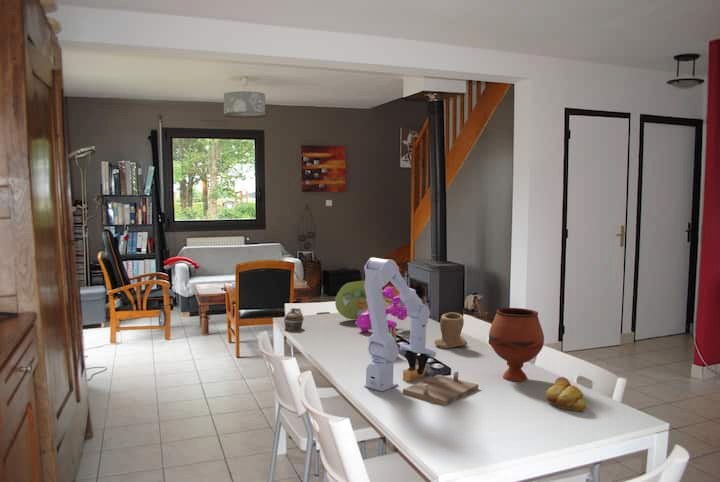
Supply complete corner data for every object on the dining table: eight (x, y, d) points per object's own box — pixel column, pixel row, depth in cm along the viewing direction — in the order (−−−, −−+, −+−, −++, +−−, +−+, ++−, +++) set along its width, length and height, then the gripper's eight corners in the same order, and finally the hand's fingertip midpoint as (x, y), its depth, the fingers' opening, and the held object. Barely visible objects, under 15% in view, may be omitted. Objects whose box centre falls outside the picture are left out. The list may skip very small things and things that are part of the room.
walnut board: (444, 405, 175) (445, 391, 174) (402, 393, 185) (403, 380, 184) (478, 388, 191) (478, 375, 191) (438, 378, 202) (438, 366, 201)
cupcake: (285, 326, 281) (285, 306, 280) (304, 326, 280) (304, 307, 280) (281, 330, 271) (282, 310, 270) (301, 331, 271) (302, 310, 270)
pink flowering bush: (381, 264, 301) (411, 282, 269) (389, 312, 309) (419, 335, 277) (329, 279, 291) (354, 300, 259) (339, 328, 299) (364, 354, 268)
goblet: (481, 370, 213) (483, 305, 211) (530, 370, 214) (533, 306, 213) (496, 386, 194) (499, 315, 192) (550, 386, 195) (553, 316, 194)
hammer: (411, 382, 197) (411, 372, 197) (401, 379, 200) (401, 369, 200) (431, 373, 207) (432, 364, 207) (421, 371, 210) (422, 362, 210)
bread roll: (593, 411, 173) (594, 386, 172) (570, 416, 169) (571, 390, 168) (561, 398, 184) (562, 374, 184) (539, 402, 180) (540, 377, 180)
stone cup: (446, 351, 239) (448, 317, 238) (430, 345, 250) (431, 312, 249) (474, 348, 247) (475, 314, 246) (457, 341, 257) (458, 309, 256)
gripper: (440, 337, 201) (439, 374, 202) (407, 330, 210) (406, 366, 211) (430, 340, 195) (429, 379, 196) (396, 334, 205) (395, 370, 206)
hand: (416, 372), depth 203 cm, fingers closed on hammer, 3 cm apart
